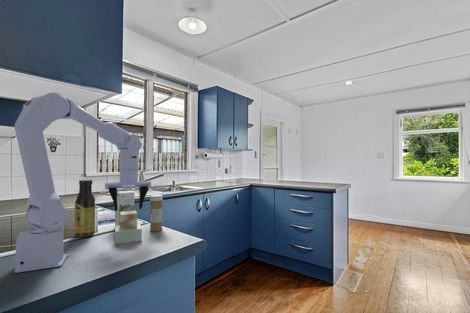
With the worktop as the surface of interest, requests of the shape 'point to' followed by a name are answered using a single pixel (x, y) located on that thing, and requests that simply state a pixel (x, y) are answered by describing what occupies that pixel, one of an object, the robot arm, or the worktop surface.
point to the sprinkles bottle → (156, 212)
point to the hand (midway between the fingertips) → (128, 209)
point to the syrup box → (124, 204)
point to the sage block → (128, 234)
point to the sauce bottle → (84, 210)
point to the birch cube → (128, 220)
